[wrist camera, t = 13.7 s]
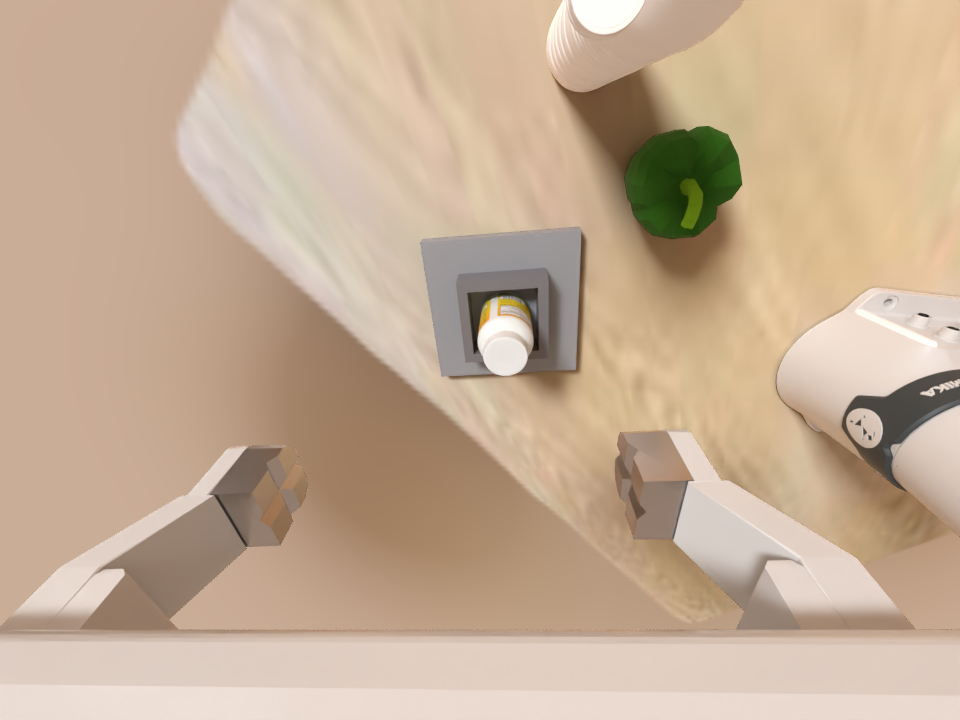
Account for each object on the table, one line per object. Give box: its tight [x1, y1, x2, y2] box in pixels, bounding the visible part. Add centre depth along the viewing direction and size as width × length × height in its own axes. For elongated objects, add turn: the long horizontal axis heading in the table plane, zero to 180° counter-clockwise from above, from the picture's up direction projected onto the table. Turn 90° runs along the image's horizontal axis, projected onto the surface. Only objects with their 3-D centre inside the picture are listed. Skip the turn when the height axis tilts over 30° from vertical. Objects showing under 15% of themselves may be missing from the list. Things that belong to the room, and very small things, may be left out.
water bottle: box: [547, 0, 744, 92], centre depth 22 cm, size 9×6×25 cm
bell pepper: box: [624, 126, 742, 239], centre depth 33 cm, size 8×8×10 cm
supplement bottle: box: [478, 292, 534, 376], centre depth 39 cm, size 5×5×10 cm
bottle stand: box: [420, 227, 581, 377], centre depth 42 cm, size 16×16×4 cm
